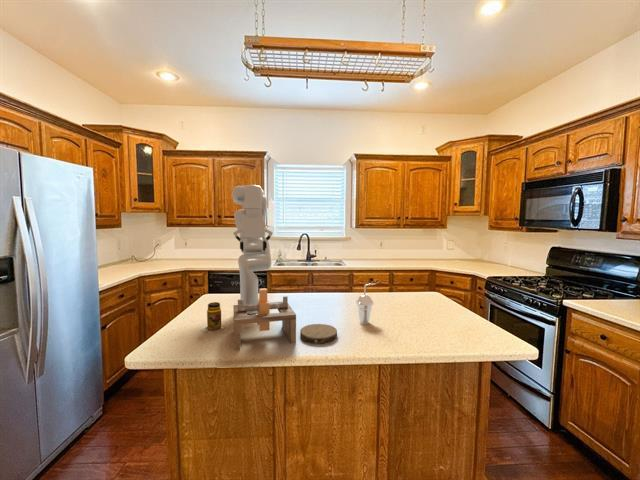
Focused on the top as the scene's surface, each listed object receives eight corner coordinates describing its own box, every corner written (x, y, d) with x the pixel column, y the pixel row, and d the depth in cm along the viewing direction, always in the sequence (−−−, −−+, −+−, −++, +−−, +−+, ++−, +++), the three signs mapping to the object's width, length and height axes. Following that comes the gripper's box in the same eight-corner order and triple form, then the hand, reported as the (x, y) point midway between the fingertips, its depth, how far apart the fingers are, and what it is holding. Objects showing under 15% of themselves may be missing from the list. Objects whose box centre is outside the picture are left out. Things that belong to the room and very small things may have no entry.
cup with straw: (360, 318, 153) (361, 279, 151) (376, 322, 147) (377, 282, 146) (352, 323, 146) (353, 282, 144) (369, 327, 140) (370, 285, 139)
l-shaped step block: (257, 324, 131) (257, 287, 129) (266, 323, 132) (266, 286, 130) (259, 331, 123) (259, 291, 121) (269, 330, 124) (269, 291, 123)
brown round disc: (302, 329, 137) (302, 323, 137) (336, 330, 137) (336, 324, 136) (298, 344, 121) (298, 337, 121) (337, 345, 121) (337, 338, 120)
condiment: (215, 332, 132) (215, 306, 131) (199, 330, 134) (199, 304, 133) (225, 327, 139) (225, 302, 138) (210, 325, 141) (210, 300, 140)
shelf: (233, 331, 133) (233, 294, 132) (286, 326, 141) (286, 290, 139) (235, 350, 114) (234, 307, 113) (295, 343, 122) (296, 302, 120)
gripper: (233, 212, 128) (233, 252, 129) (273, 213, 133) (273, 251, 134) (232, 212, 135) (233, 250, 136) (271, 213, 140) (271, 249, 142)
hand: (253, 250), depth 135 cm, fingers open, 9 cm apart
